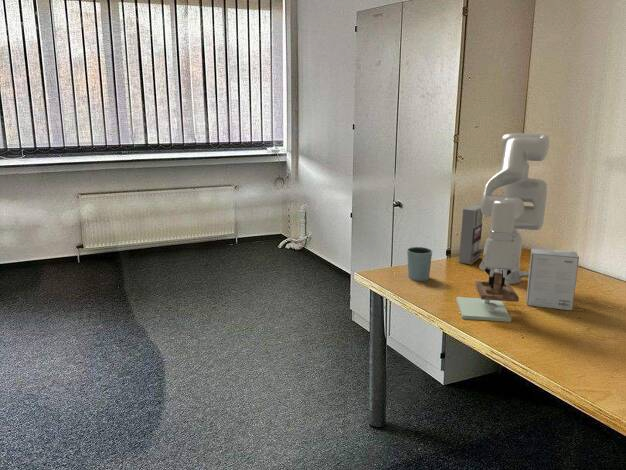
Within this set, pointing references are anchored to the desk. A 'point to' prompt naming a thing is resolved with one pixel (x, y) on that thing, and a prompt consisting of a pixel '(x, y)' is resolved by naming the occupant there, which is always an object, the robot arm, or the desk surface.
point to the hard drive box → (552, 279)
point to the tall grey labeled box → (471, 234)
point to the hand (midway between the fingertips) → (496, 286)
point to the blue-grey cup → (419, 263)
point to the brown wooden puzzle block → (496, 290)
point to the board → (482, 309)
